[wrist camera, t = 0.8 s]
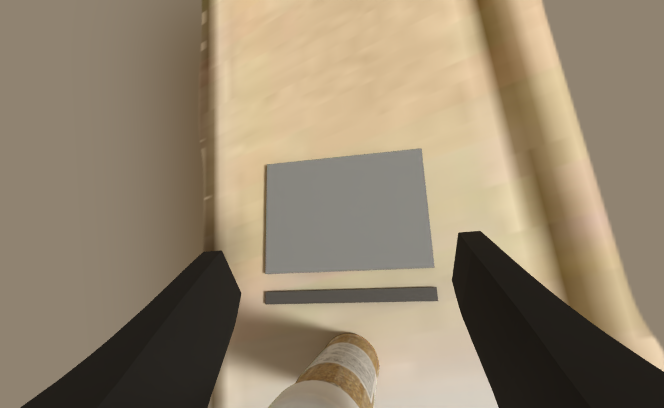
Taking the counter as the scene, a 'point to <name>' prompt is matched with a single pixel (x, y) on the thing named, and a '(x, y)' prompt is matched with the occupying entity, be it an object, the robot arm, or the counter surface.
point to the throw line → (353, 296)
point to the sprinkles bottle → (336, 377)
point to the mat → (348, 214)
